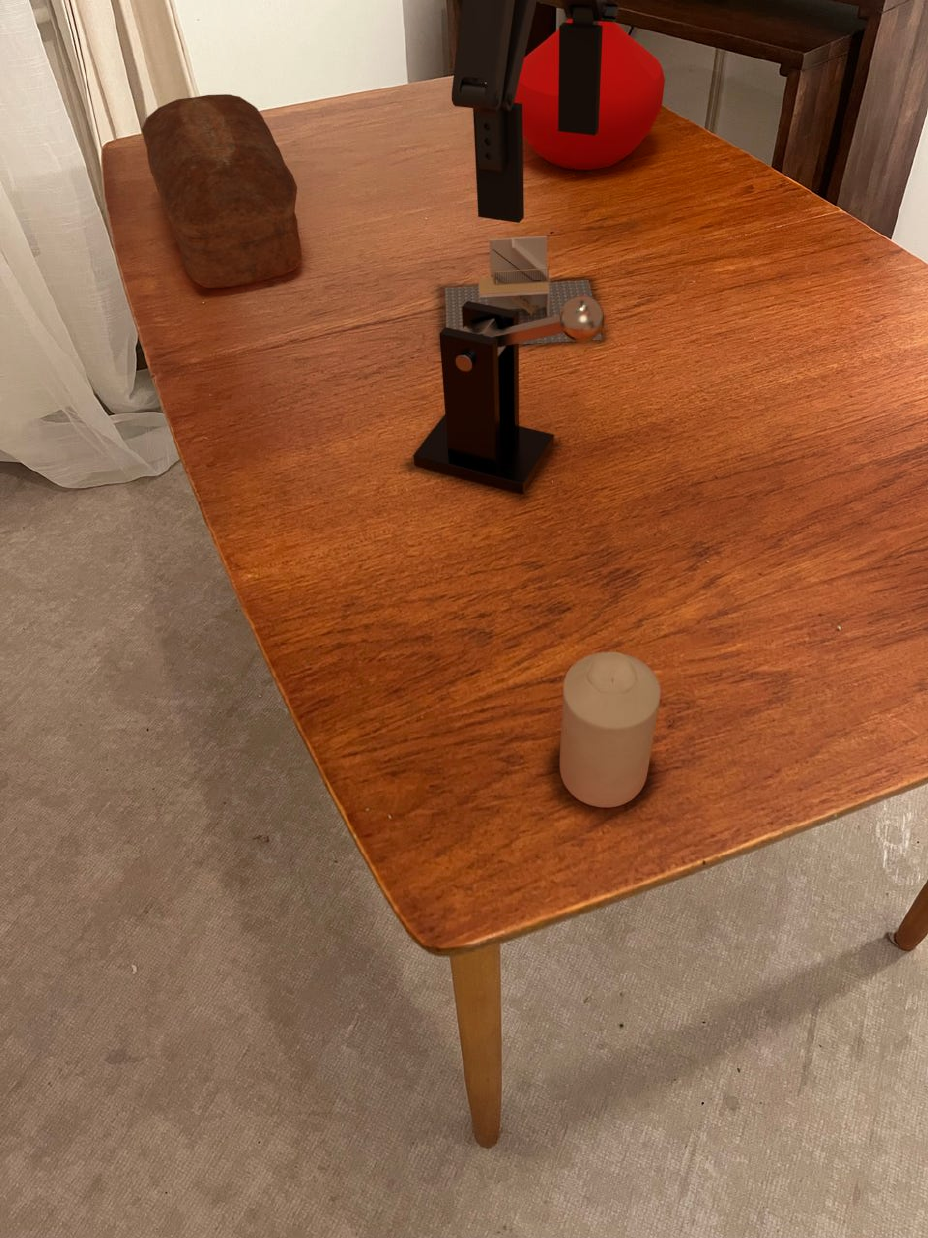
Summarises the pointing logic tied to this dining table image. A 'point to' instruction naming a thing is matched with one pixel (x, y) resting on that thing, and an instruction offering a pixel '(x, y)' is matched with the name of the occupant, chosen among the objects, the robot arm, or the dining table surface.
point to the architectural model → (518, 286)
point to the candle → (607, 727)
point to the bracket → (483, 410)
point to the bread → (224, 190)
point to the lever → (549, 325)
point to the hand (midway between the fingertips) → (542, 172)
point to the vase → (623, 102)
